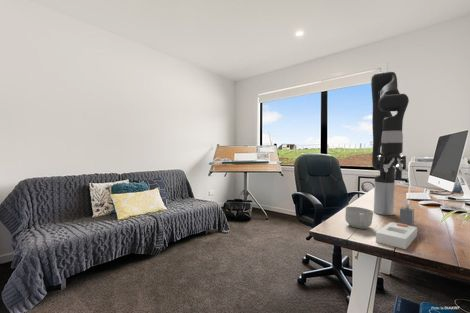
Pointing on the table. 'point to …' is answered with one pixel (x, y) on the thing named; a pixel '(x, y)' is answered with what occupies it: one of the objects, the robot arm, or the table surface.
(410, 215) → the charger
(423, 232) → the table surface
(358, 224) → the teacup
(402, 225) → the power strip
